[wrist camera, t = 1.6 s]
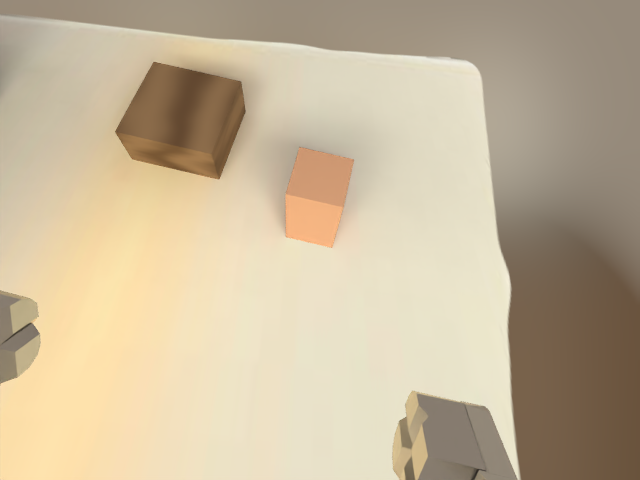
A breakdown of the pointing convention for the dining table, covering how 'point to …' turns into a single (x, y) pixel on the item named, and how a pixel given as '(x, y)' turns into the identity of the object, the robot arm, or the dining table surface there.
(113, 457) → the dining table surface
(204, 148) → the walnut block
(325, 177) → the terracotta block
